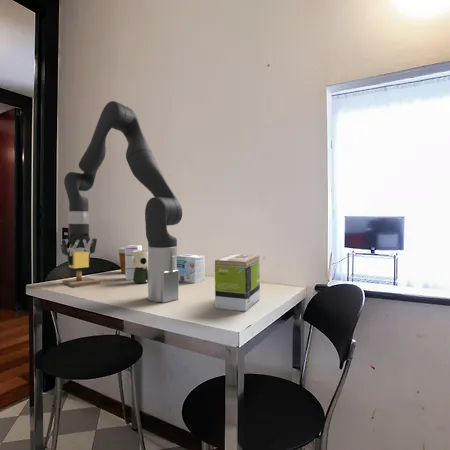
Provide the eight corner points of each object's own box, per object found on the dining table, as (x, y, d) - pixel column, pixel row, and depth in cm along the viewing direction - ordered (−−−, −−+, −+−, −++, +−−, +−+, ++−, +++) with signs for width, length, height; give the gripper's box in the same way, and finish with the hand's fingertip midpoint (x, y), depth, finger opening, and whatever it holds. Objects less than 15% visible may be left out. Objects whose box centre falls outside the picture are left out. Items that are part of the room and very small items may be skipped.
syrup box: (138, 280, 132) (138, 246, 131) (124, 280, 132) (124, 246, 131) (142, 277, 137) (142, 245, 137) (129, 277, 137) (129, 244, 137)
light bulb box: (175, 280, 132) (175, 255, 132) (186, 278, 138) (186, 253, 138) (195, 283, 126) (195, 257, 126) (205, 280, 132) (205, 255, 132)
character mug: (137, 286, 120) (137, 252, 120) (124, 284, 124) (124, 251, 124) (157, 281, 130) (157, 250, 130) (144, 279, 134) (144, 249, 133)
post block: (100, 283, 125) (100, 271, 124) (74, 287, 117) (74, 274, 117) (87, 279, 133) (87, 267, 133) (62, 282, 125) (62, 270, 125)
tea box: (232, 296, 106) (232, 253, 106) (260, 299, 102) (261, 254, 102) (213, 308, 92) (214, 258, 92) (245, 312, 88) (246, 260, 88)
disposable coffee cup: (114, 274, 145) (114, 248, 145) (123, 270, 155) (123, 246, 154) (133, 275, 144) (133, 249, 143) (141, 271, 153) (141, 247, 153)
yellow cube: (88, 266, 125) (88, 252, 125) (74, 268, 121) (74, 253, 121) (82, 265, 129) (82, 251, 129) (68, 266, 125) (68, 252, 125)
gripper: (63, 223, 117) (63, 267, 117) (100, 222, 128) (100, 263, 128) (56, 222, 122) (56, 265, 122) (92, 222, 133) (92, 261, 133)
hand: (78, 264), depth 125 cm, fingers closed on yellow cube, 5 cm apart
